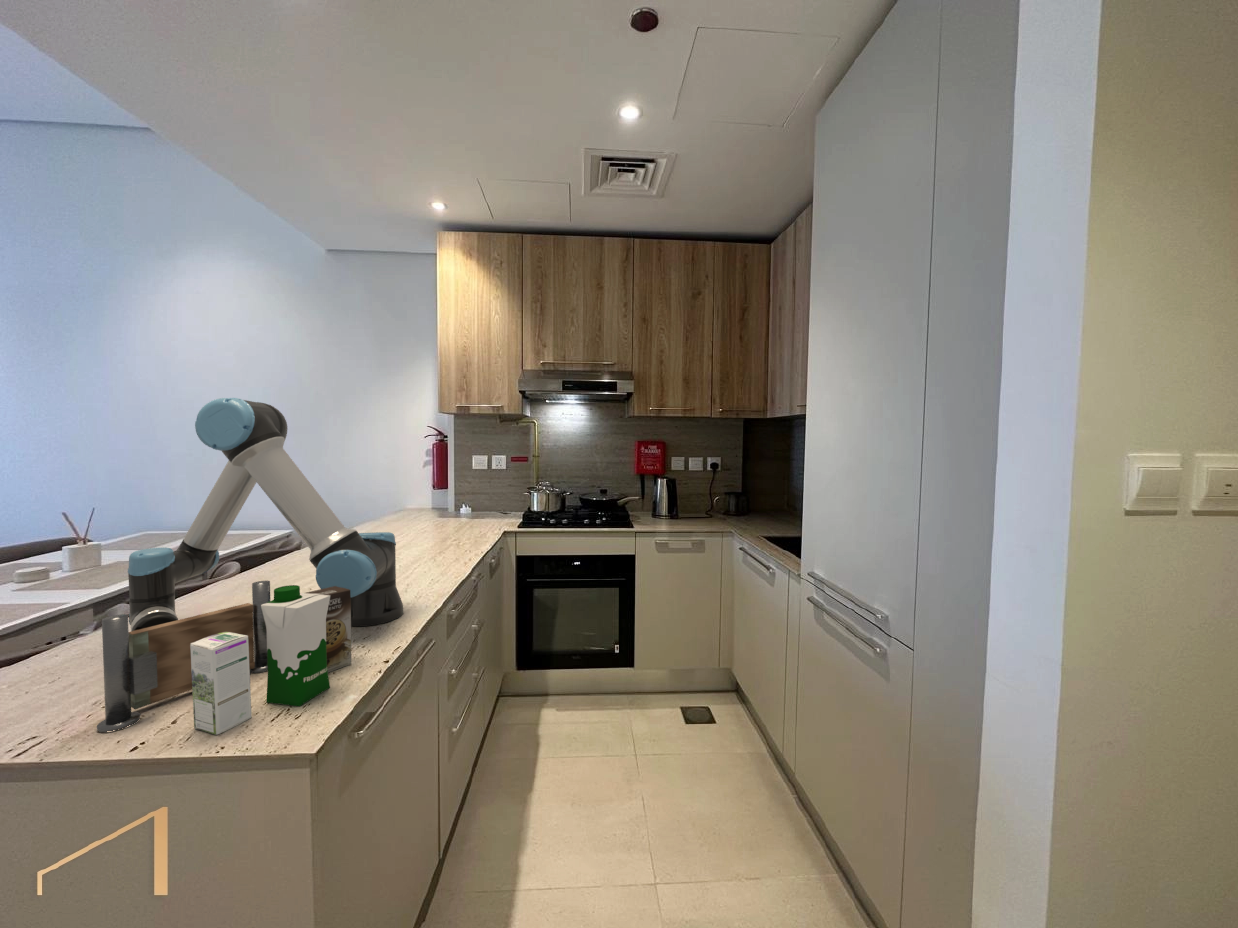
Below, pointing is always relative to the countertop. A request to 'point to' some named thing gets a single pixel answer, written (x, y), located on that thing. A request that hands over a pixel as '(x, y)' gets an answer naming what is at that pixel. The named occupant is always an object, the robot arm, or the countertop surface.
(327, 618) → the brown cookie box
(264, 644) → the hinge post
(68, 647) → the countertop surface
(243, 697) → the syrup box
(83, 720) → the countertop surface
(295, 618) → the milk carton
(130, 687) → the latch post
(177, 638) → the gate
